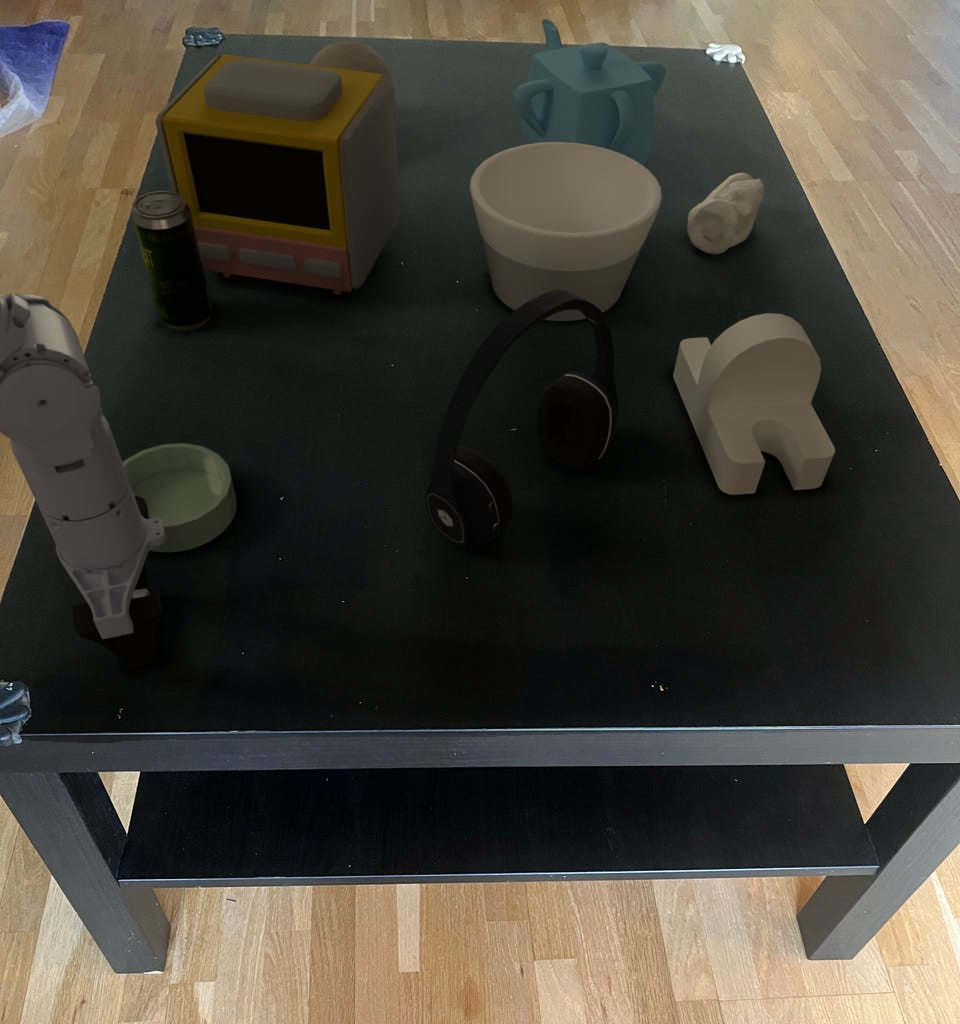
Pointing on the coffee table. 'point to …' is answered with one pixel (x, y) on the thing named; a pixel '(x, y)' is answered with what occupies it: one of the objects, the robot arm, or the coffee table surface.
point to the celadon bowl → (184, 492)
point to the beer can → (172, 259)
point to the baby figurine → (726, 214)
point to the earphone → (560, 425)
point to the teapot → (589, 97)
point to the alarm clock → (285, 169)
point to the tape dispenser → (755, 402)
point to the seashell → (351, 58)
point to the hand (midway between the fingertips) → (137, 623)
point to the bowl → (562, 221)
